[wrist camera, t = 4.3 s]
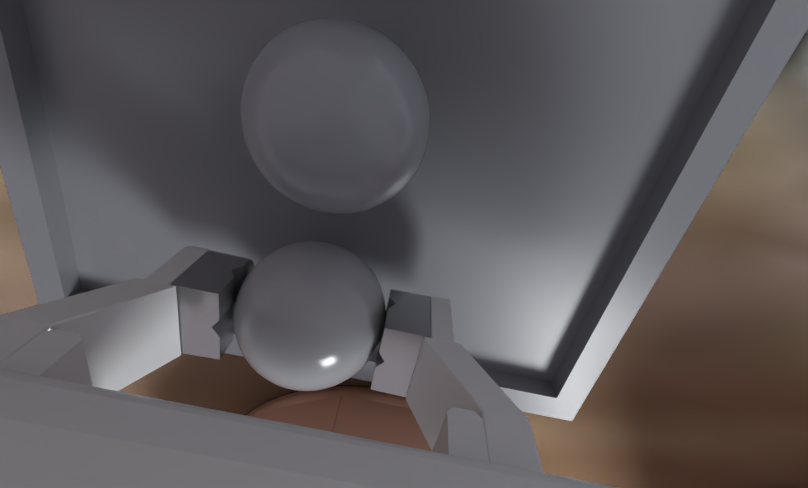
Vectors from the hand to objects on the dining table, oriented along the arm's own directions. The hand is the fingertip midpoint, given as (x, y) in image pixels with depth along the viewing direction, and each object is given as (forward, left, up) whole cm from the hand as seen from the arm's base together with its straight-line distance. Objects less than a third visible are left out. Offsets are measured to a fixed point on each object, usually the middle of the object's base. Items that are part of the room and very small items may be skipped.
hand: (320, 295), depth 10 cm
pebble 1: (-4, 0, 0) cm, 4 cm away
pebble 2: (0, 0, +1) cm, 1 cm away
